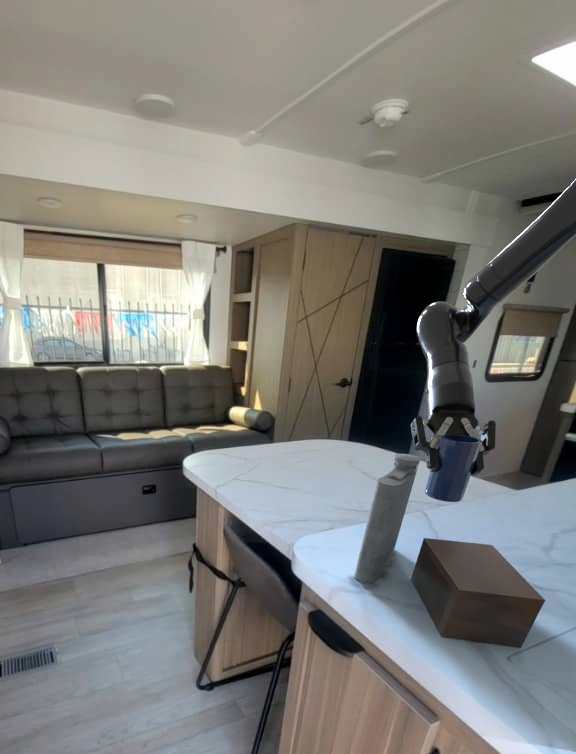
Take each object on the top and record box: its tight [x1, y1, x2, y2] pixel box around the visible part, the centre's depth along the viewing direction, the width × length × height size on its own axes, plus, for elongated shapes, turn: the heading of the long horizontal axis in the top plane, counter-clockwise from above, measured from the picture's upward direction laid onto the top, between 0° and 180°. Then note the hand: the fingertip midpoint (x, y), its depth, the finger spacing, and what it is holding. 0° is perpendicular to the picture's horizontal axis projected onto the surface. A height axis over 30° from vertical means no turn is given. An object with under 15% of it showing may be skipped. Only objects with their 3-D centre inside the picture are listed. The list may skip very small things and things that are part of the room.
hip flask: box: [353, 453, 421, 585], centre depth 68 cm, size 16×4×20 cm, turn 143°
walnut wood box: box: [410, 537, 546, 649], centre depth 60 cm, size 10×14×8 cm
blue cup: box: [424, 434, 482, 503], centre depth 74 cm, size 6×6×11 cm
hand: (455, 471), depth 72 cm, fingers closed on blue cup, 6 cm apart
